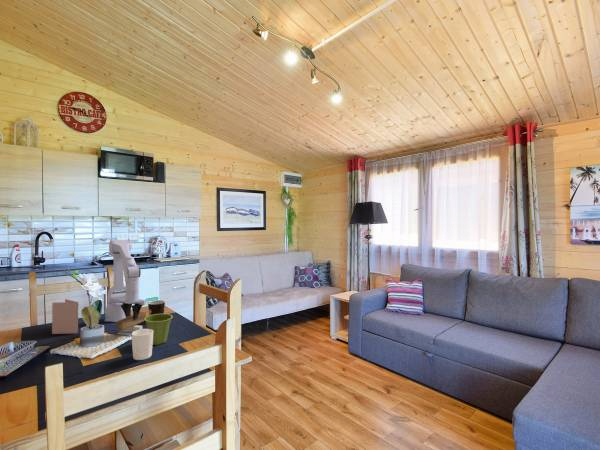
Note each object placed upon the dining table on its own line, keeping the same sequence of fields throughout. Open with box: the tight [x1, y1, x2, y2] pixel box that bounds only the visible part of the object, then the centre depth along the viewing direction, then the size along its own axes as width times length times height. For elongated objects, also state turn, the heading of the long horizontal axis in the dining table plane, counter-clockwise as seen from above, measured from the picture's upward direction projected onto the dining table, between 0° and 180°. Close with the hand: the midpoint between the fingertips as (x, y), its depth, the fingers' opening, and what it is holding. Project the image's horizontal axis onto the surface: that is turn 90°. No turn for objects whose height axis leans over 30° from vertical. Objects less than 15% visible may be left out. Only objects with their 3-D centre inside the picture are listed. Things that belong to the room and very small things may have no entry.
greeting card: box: [51, 299, 80, 335], centre depth 154 cm, size 11×7×15 cm, turn 63°
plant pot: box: [144, 313, 173, 346], centre depth 145 cm, size 12×12×11 cm
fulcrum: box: [115, 324, 144, 337], centre depth 157 cm, size 10×9×3 cm
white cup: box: [131, 328, 153, 361], centre depth 129 cm, size 8×8×10 cm
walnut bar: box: [116, 311, 147, 331], centre depth 157 cm, size 4×16×4 cm, turn 169°
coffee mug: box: [147, 299, 166, 316], centre depth 174 cm, size 12×9×10 cm
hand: (131, 318), depth 157 cm, fingers closed on walnut bar, 3 cm apart
